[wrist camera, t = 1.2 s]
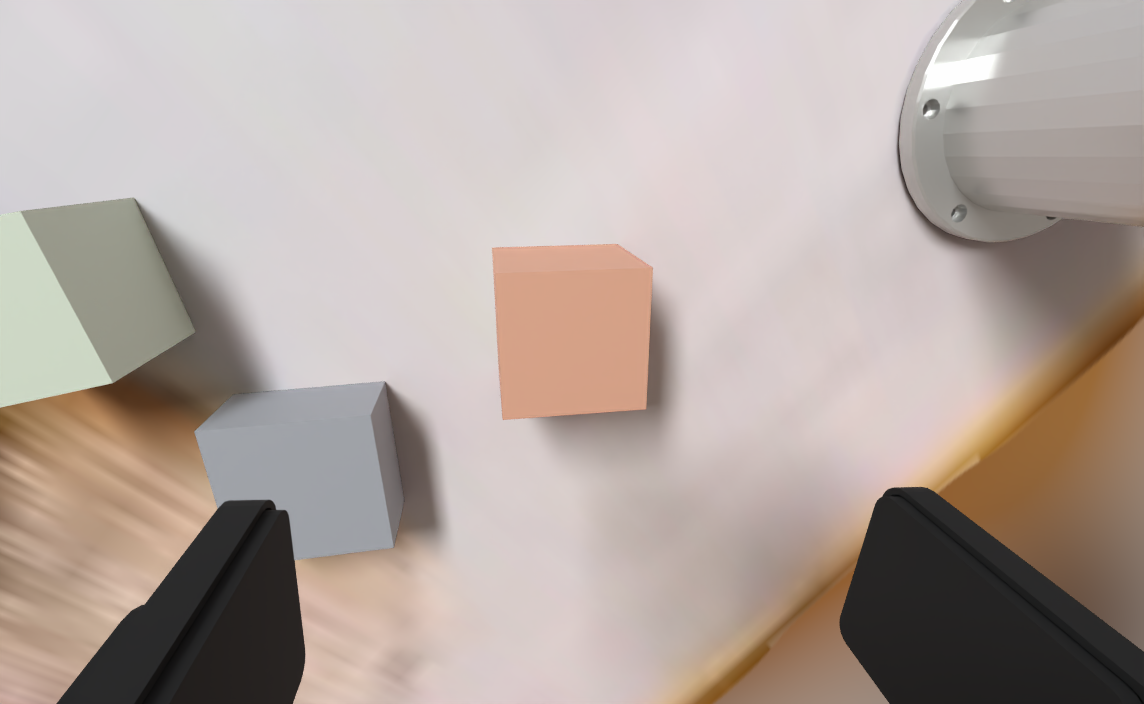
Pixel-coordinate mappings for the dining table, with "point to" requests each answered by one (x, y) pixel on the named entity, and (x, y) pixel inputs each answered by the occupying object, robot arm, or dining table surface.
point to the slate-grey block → (311, 463)
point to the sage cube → (81, 299)
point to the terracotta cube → (571, 329)
